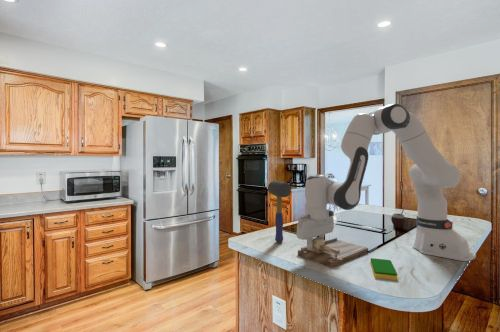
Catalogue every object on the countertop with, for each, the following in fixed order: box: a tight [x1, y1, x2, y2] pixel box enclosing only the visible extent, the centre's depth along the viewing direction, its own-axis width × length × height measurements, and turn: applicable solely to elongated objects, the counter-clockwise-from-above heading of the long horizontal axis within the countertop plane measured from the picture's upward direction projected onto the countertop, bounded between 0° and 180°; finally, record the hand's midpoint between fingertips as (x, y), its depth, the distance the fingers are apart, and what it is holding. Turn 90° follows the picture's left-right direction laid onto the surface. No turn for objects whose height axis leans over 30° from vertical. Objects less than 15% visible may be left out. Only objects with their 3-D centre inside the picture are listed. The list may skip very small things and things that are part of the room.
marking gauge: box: [306, 236, 340, 257], centre depth 114 cm, size 14×4×5 cm, turn 38°
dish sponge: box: [370, 257, 398, 281], centre depth 102 cm, size 7×14×2 cm, turn 162°
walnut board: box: [297, 237, 369, 268], centre depth 119 cm, size 18×26×3 cm
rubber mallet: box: [267, 180, 292, 244], centre depth 135 cm, size 12×8×30 cm, turn 22°
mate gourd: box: [390, 202, 410, 231], centre depth 162 cm, size 8×8×15 cm
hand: (315, 246), depth 117 cm, fingers open, 4 cm apart
